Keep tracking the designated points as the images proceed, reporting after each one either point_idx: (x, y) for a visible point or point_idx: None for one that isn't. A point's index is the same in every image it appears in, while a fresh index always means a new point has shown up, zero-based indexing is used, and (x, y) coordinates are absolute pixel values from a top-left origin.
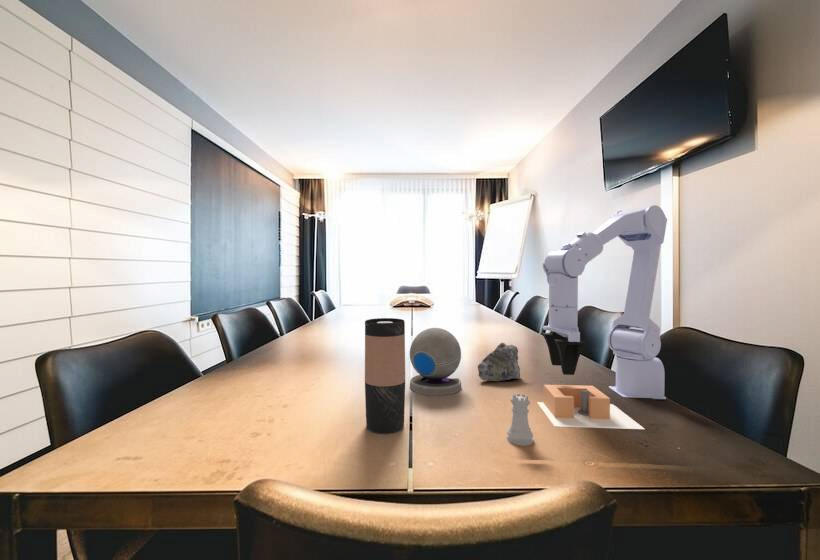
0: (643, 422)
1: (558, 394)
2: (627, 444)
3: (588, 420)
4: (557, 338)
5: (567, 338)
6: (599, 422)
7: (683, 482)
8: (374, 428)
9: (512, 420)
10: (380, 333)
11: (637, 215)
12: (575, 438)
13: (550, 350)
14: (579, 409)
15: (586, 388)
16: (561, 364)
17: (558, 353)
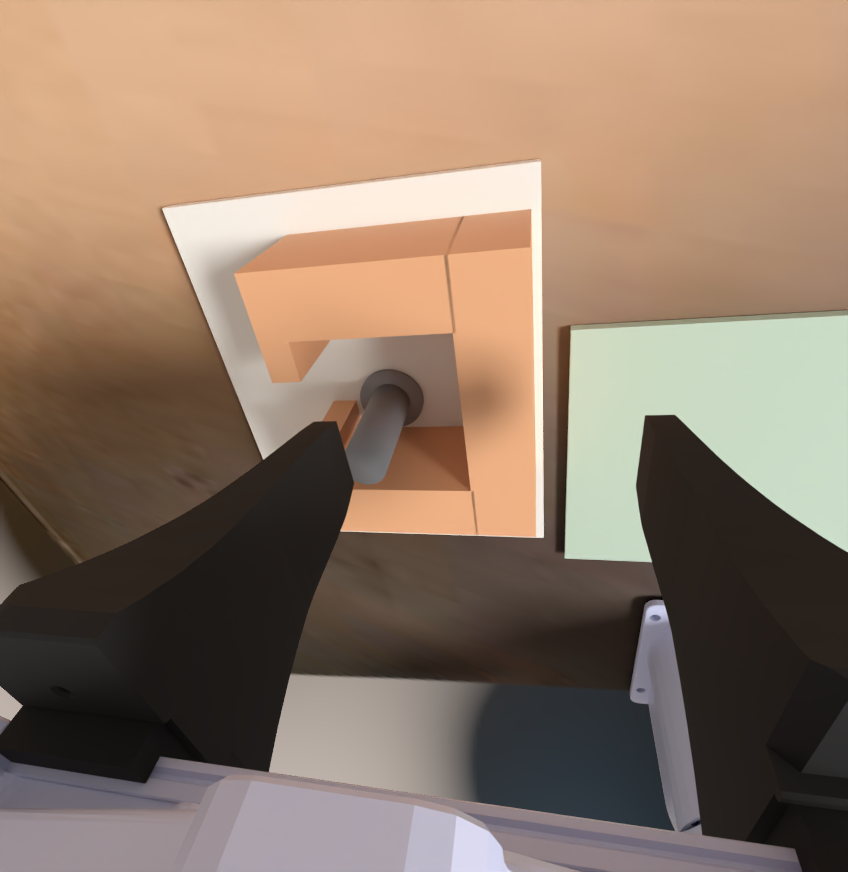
0: (384, 551)
1: (300, 309)
2: (165, 438)
3: (304, 385)
4: (727, 735)
5: (23, 750)
6: (297, 419)
7: (8, 469)
8: None
9: None
10: None
11: None
12: (117, 280)
13: (696, 507)
14: (443, 389)
15: (474, 493)
16: (281, 458)
17: (668, 551)
